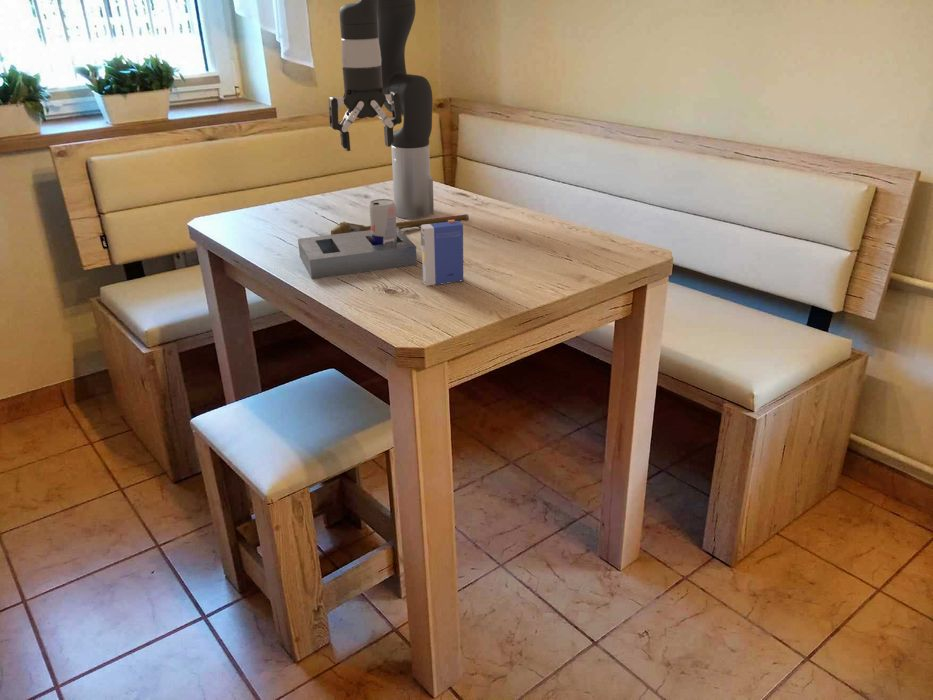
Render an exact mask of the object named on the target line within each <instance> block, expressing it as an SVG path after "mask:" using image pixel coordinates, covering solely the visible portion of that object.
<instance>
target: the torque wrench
mask: <svg viewBox="0 0 933 700" xmlns="http://www.w3.org/2000/svg"><path fill="white" fill-rule="evenodd" d="M469 218H470V217H469V214H467V213H464V214H459V215H451V216H450V215H449V216H441V217H434V218H433V217H432V218H422V219H414V220H409V221H408V220H406V221H399V222H396V227H398V228H399V229H400V230H403V229H408V228H409V229H410V228H417V227H419V228H420V227H421V225H424V224H433V223H442V222H448V220H455V221H459V222H462V221H461V220H465V221H467V220H466V219H469ZM367 230H371V225H363V224H356V223H351V222H347V221H343V222H339V224H337V225H336V226H334V228H332V229H331V230H330V235H334V234H342V233H351V232H359V231H367Z"/></svg>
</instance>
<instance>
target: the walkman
mask: <svg viewBox="0 0 933 700" xmlns="http://www.w3.org/2000/svg"><path fill="white" fill-rule="evenodd" d="M420 230H421V232H420V244H421V259H422V260H421V261H422V265H421V266H422V282H423V281H424V282H423V284H425V285H426V286H425V285H424V286H425V287H428V286H427V285H433V284H440V285H442V284H441V283H447V282H454V281H460V280H463V281H464V224H463V223H462V222H461V221H455V220H448V222H442V223H433V224H424V225H421V226H420ZM454 283H455V282H454ZM447 284H448V283H447ZM433 286H434V285H433Z"/></svg>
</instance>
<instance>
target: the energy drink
mask: <svg viewBox="0 0 933 700" xmlns="http://www.w3.org/2000/svg"><path fill="white" fill-rule="evenodd" d="M369 219H370V226H371V238H372V245H373V246H374V245H382V244H390V243H397V231H396V223H397V216H396V210H395V204H394V199H390V198H389V199H388V198H378V199H373V200H371V201H370V204H369Z"/></svg>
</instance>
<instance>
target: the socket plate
mask: <svg viewBox="0 0 933 700" xmlns="http://www.w3.org/2000/svg"><path fill="white" fill-rule="evenodd" d="M396 231H397V243H390V244H382V245H374V246H373V245H372V238H371V230H367V231H359V232H351V233H342V234H334V235H331V234H329V235H328V234H327V235H319V236H310V237H302V238H298V239H297V244H298V251H299V252H298V253H299V258H300V259H301V261H302V263H303V265H304V267H305V269H306V271H307V272H308V273H307V274H309V276H310V278H311V280H314V279H320V278H328V277H336V276H342V275H343V276H344V275H352V274H358V273H364V272H365V273H366V272H371V271H372V272H373V271H381V270H387V269H394V268H400V267H401V268H402V267H407V266H415V265H418V264H417V263H418V261H417V245H415V244H414V243H413V241H412V240H411V239H410V238H409V237H408V236H406V235H405V233H404V232H403V231H402V229H399V228H398V227H396Z"/></svg>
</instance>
